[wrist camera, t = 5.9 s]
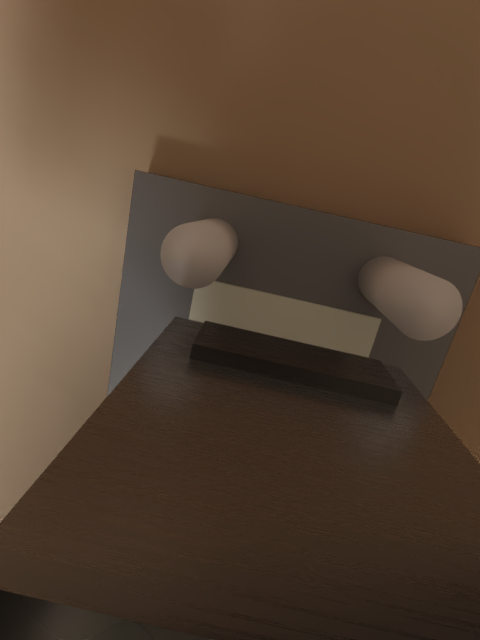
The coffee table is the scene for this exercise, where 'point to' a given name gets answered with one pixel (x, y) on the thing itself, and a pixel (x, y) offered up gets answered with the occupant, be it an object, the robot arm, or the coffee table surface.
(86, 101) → the coffee table surface
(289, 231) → the panel with knobs
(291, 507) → the drive
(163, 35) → the coffee table surface
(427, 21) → the coffee table surface
